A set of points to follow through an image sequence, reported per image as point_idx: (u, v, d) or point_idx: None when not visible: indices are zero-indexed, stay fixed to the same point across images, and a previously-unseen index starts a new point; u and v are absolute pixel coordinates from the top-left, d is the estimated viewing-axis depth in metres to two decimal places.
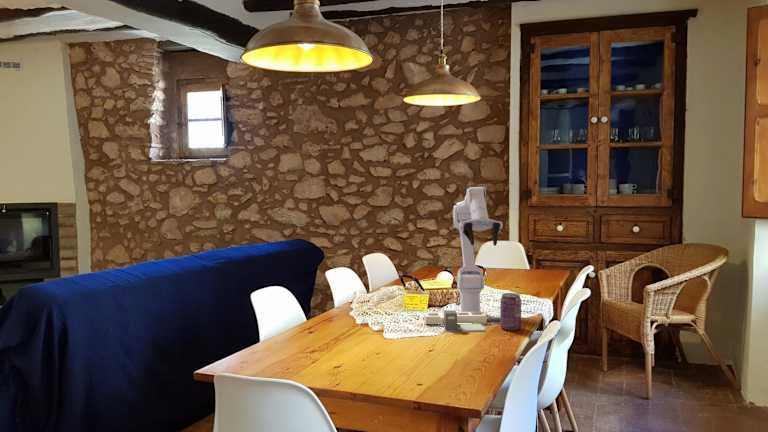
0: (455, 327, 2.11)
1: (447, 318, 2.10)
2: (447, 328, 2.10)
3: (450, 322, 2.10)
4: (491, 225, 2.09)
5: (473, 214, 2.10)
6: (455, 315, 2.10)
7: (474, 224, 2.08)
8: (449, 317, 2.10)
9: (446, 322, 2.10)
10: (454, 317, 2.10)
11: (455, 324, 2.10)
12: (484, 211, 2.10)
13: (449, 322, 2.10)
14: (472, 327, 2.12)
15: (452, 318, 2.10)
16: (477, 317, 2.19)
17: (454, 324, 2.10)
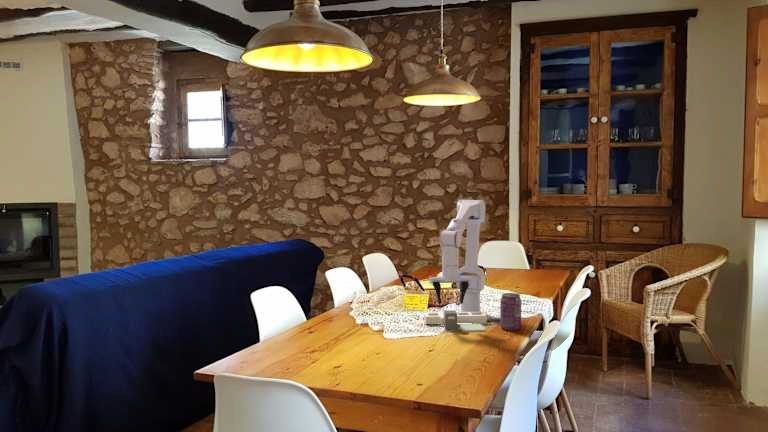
0: (455, 327, 2.11)
1: (447, 318, 2.10)
2: (447, 328, 2.10)
3: (450, 322, 2.10)
4: (460, 281, 2.11)
5: (444, 270, 2.10)
6: (455, 315, 2.10)
7: (443, 281, 2.11)
8: (449, 317, 2.10)
9: (446, 322, 2.10)
10: (454, 317, 2.10)
11: (455, 324, 2.10)
12: (455, 269, 2.09)
13: (449, 322, 2.10)
14: (472, 327, 2.12)
15: (452, 318, 2.10)
16: (477, 317, 2.19)
17: (454, 324, 2.10)
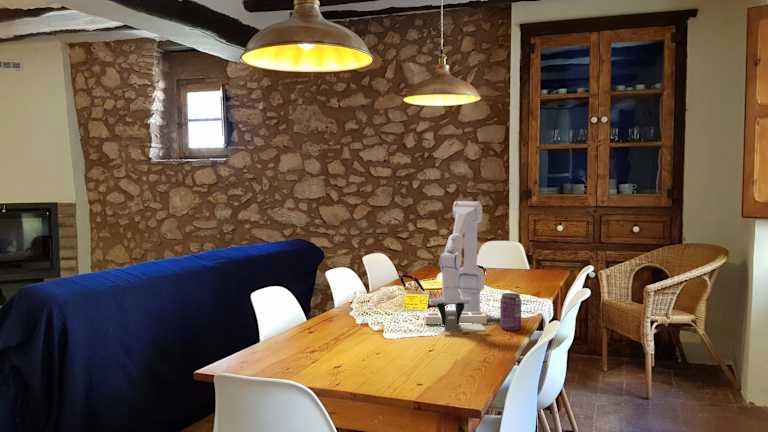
0: (455, 327, 2.11)
1: (447, 318, 2.10)
2: (447, 328, 2.10)
3: (450, 322, 2.10)
4: (460, 302, 2.12)
5: (444, 292, 2.10)
6: (455, 315, 2.10)
7: (443, 302, 2.11)
8: (449, 317, 2.10)
9: (446, 322, 2.10)
10: (454, 317, 2.10)
11: (455, 324, 2.10)
12: (455, 291, 2.09)
13: (449, 322, 2.10)
14: (472, 327, 2.12)
15: (452, 318, 2.10)
16: (477, 317, 2.19)
17: (454, 324, 2.10)
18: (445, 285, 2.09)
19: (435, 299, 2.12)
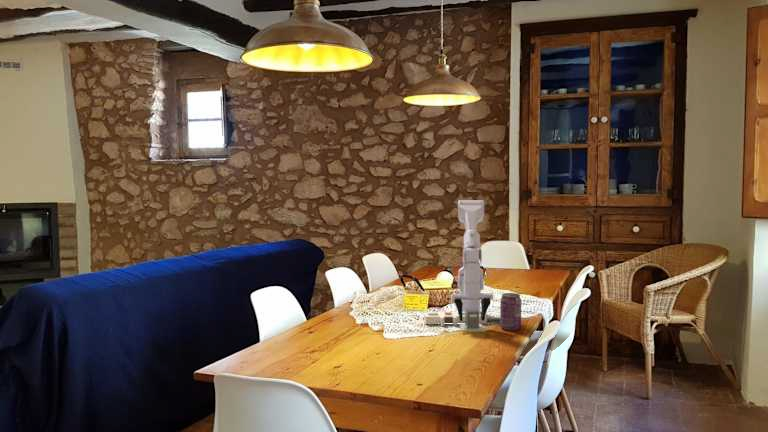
0: (477, 325, 2.10)
1: (469, 316, 2.10)
2: (469, 326, 2.10)
3: (472, 320, 2.10)
4: (482, 297, 2.12)
5: (465, 287, 2.10)
6: (477, 313, 2.10)
7: (465, 298, 2.11)
8: (471, 315, 2.10)
9: (468, 320, 2.10)
10: (476, 315, 2.10)
11: (477, 322, 2.10)
12: (477, 286, 2.09)
13: (471, 320, 2.10)
14: None
15: (474, 316, 2.10)
16: None
17: (476, 322, 2.10)
18: (469, 281, 2.09)
19: (457, 294, 2.11)
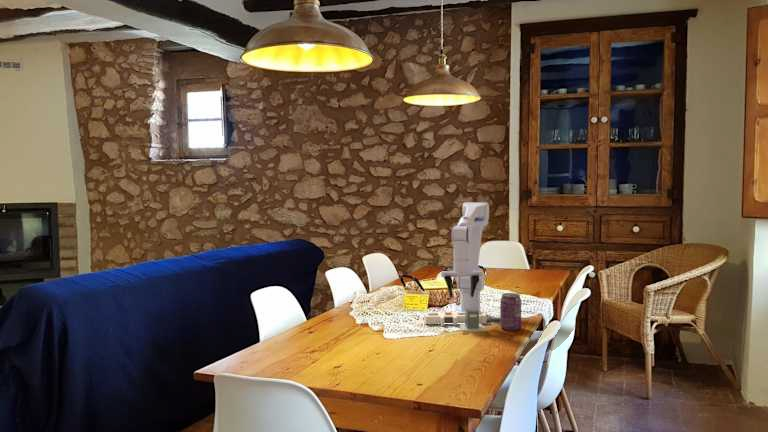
0: (477, 325, 2.10)
1: (469, 316, 2.10)
2: (469, 326, 2.10)
3: (472, 320, 2.10)
4: (471, 275, 2.18)
5: (455, 264, 2.16)
6: (477, 313, 2.10)
7: (455, 275, 2.17)
8: (471, 315, 2.10)
9: (468, 320, 2.10)
10: (476, 315, 2.10)
11: (477, 322, 2.10)
12: (466, 263, 2.15)
13: (471, 320, 2.10)
14: None
15: (474, 316, 2.10)
16: None
17: (476, 322, 2.10)
18: (457, 258, 2.15)
19: (447, 272, 2.18)
